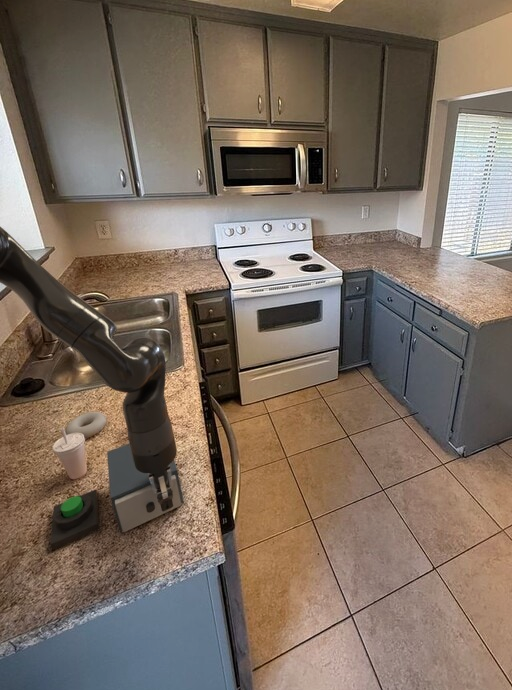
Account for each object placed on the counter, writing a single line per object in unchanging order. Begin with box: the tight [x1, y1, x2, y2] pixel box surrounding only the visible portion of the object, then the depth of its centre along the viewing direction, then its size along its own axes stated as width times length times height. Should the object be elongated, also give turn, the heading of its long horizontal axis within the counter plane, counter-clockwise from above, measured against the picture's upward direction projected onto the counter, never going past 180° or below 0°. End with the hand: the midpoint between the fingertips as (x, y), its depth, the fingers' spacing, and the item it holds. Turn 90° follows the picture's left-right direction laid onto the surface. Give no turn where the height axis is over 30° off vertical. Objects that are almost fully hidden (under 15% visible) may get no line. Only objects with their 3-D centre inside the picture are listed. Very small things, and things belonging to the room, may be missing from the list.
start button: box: [61, 495, 83, 517], centre depth 75 cm, size 4×4×2 cm
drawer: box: [115, 475, 182, 533], centre depth 79 cm, size 15×11×8 cm
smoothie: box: [51, 427, 88, 480], centre depth 86 cm, size 6×6×14 cm
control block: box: [49, 489, 100, 551], centre depth 76 cm, size 10×8×4 cm
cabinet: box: [106, 443, 184, 534], centre depth 81 cm, size 15×13×10 cm
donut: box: [65, 411, 107, 439], centre depth 103 cm, size 10×4×10 cm
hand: (167, 507), depth 74 cm, fingers closed
